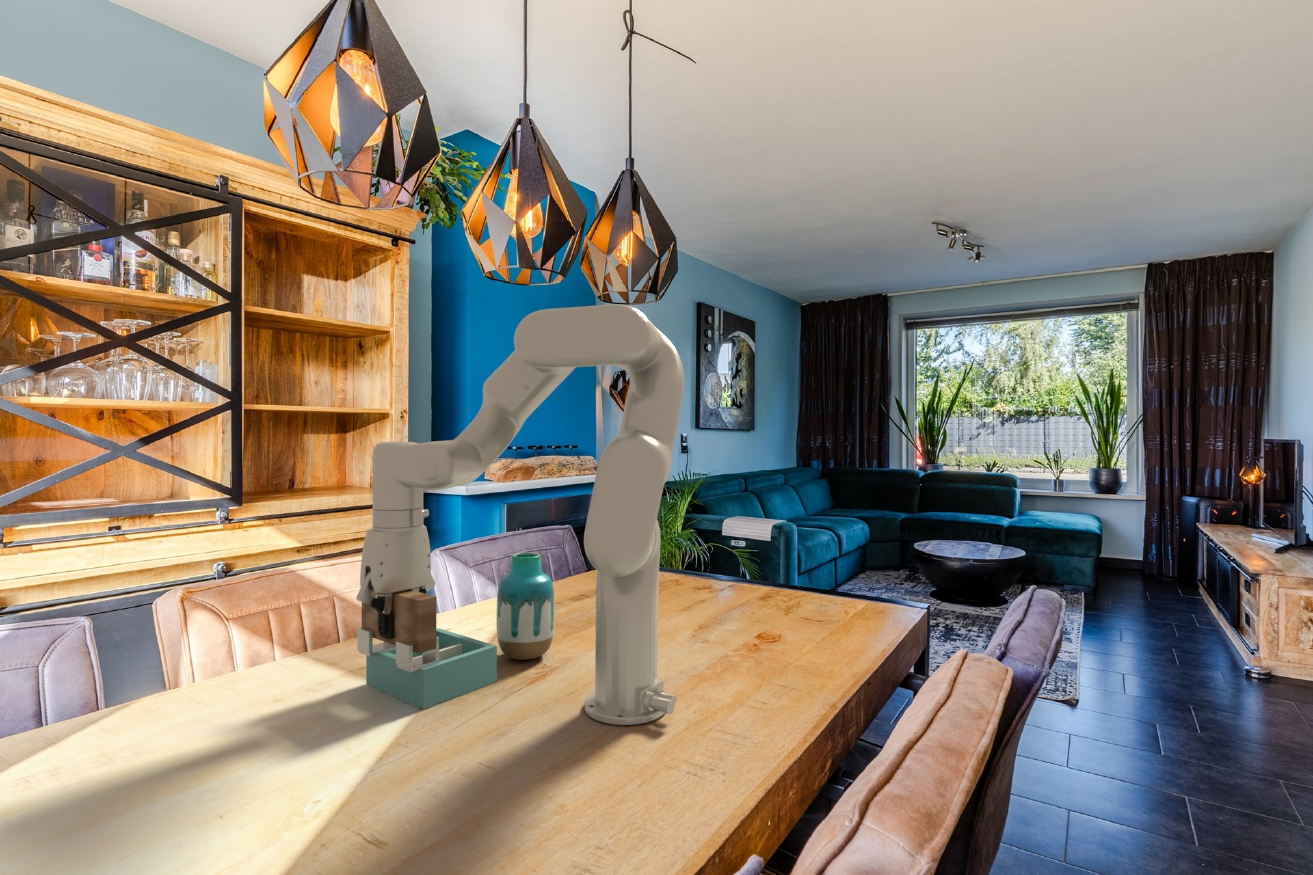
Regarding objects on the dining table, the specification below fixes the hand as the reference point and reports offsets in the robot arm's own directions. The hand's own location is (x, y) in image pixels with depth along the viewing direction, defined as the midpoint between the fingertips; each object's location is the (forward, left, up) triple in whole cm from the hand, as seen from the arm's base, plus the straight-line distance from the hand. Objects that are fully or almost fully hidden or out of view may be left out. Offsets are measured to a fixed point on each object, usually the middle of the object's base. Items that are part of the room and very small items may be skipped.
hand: (397, 633), depth 105 cm
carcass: (0, -6, -10) cm, 12 cm away
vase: (-3, -24, -10) cm, 27 cm away
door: (0, 0, -1) cm, 1 cm away
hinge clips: (0, 0, -4) cm, 4 cm away
